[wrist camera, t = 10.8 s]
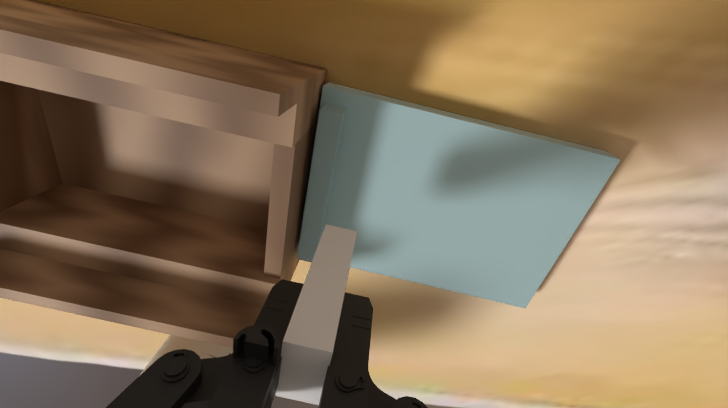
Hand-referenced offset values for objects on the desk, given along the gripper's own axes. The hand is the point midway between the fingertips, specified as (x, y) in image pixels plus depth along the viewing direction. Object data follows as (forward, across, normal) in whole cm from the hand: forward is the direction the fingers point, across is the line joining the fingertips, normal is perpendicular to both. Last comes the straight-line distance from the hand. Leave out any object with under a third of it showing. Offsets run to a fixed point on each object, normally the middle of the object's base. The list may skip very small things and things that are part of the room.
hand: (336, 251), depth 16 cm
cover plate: (+8, +6, 0) cm, 10 cm away
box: (+7, -12, 0) cm, 14 cm away
